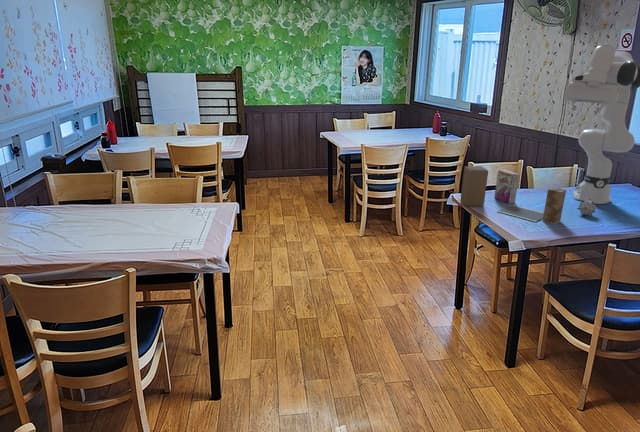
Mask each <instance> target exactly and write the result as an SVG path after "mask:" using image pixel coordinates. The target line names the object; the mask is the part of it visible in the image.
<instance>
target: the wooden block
mask: <svg viewBox="0 0 640 432" xmlns="http://www.w3.org/2000/svg"><path fill="white" fill-rule="evenodd" d="M463 168H464V169H463V176H462V184H461V192H460V202H461V203H462V204H463V205H464V206H465V207H484V205H485V201H486V200H485V198H486V190H487V185H488V184H487V183H488V177H489V170H488V169H486V168H485V167H483V166H482V165H479V166H478V165H475V166H474V165H470V166H469V165H467V166H464V167H463Z"/></svg>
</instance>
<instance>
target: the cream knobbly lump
mask: <svg viewBox="0 0 640 432" xmlns="http://www.w3.org/2000/svg"><path fill="white" fill-rule="evenodd" d="M590 200H591V199H589V200H588V201H583V200H582V201H581V202H579V206H578V207H577V208H576V210H578V211H579V212H580V214H582V215H583V217H586V216H587V215H591V216H593V213H596V211H595V210H596V208H598V207H599V206H598V205H596V204H594V202H593V203H592V202H591V201H590Z"/></svg>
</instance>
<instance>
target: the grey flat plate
mask: <svg viewBox="0 0 640 432" xmlns="http://www.w3.org/2000/svg"><path fill="white" fill-rule="evenodd" d="M496 213H498V214H499V213H500V214H503V215H505V216H510V217H513V218H517V219H521V220H525V221H529V222H533V223H538V222H540V221H541V219H542V220H543V214H544V211H543V212H542V211H538V210H534V209H530V208H526V207H522V206H520V205H519V206H518V205H514V204H511V205H509V206H507V207H504V208H502V209H499V210H496ZM539 220H540V221H539Z"/></svg>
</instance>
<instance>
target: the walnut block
mask: <svg viewBox="0 0 640 432" xmlns="http://www.w3.org/2000/svg"><path fill="white" fill-rule="evenodd" d="M566 193H567V189H564V188H559V187H555V186H552V187H550V188H548V189H547V193H546V194H547V195H546V199H545V205H544V210H543V213H544V214H543V219H542V221H543V222H545V221H546V223H549V222H550V224H553V223H554V225H556V224H557V223H560V222H561V220H562V219H561V218H562V215H563V214H562V213H563V208H564V205H565V204H564V203H565V199H566Z"/></svg>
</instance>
